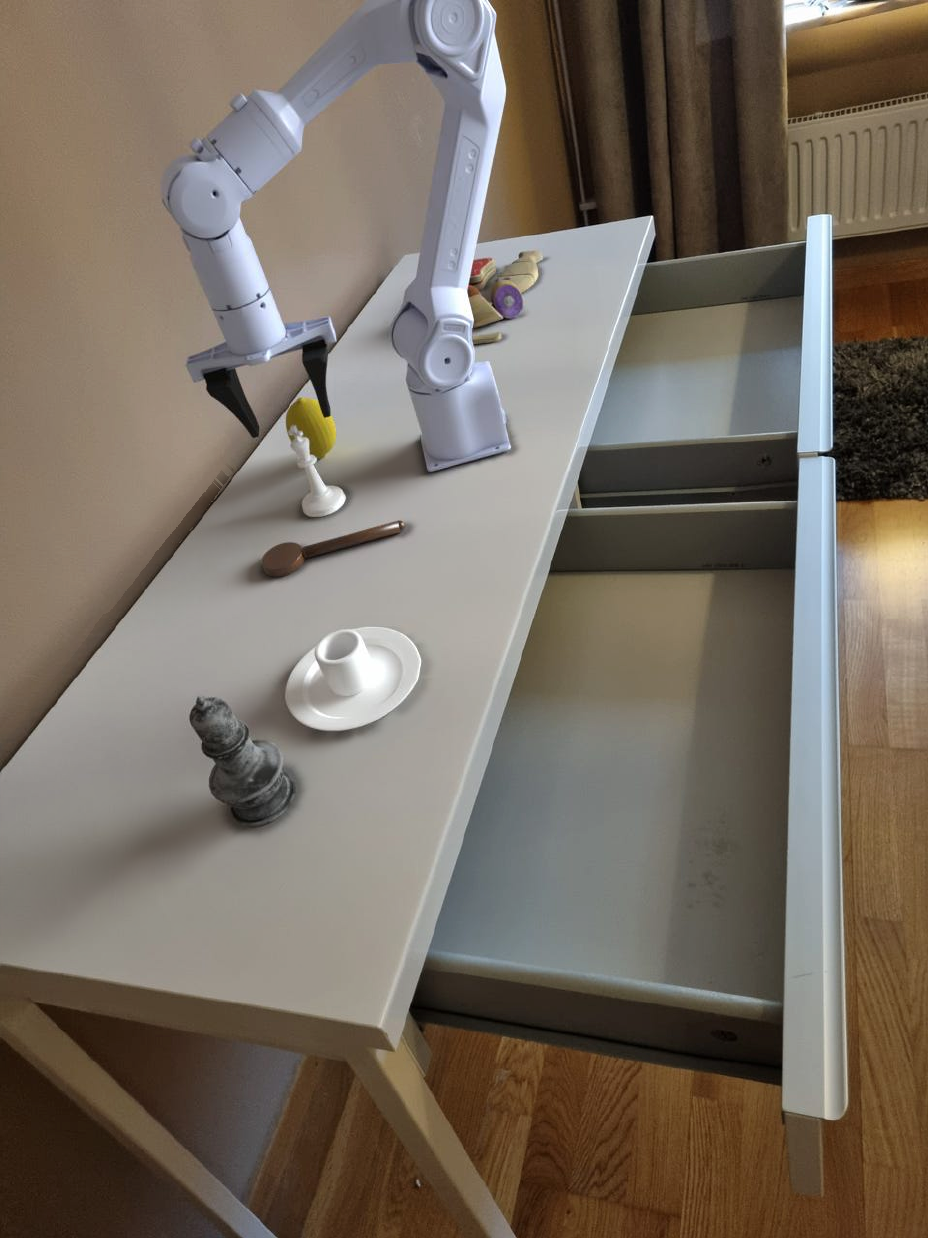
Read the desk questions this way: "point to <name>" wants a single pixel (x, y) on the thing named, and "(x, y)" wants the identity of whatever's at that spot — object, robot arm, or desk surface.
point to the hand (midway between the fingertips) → (291, 422)
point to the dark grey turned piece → (241, 765)
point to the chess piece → (315, 481)
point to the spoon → (320, 548)
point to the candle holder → (352, 678)
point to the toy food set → (500, 291)
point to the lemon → (312, 425)
